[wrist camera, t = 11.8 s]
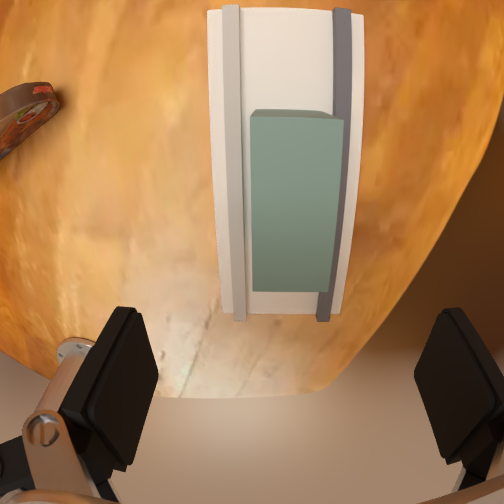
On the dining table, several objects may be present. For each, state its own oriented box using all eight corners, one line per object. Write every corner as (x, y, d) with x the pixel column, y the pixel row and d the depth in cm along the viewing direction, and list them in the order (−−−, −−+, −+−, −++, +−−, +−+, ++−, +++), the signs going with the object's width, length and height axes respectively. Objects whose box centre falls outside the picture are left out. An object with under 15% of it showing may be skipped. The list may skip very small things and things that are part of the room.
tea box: (321, 110, 23) (344, 120, 16) (314, 238, 28) (328, 292, 21) (255, 109, 23) (249, 116, 16) (256, 237, 28) (252, 291, 21)
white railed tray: (336, 302, 33) (341, 321, 31) (224, 301, 34) (220, 320, 31) (356, 19, 20) (367, 12, 17) (211, 15, 21) (204, 6, 18)
